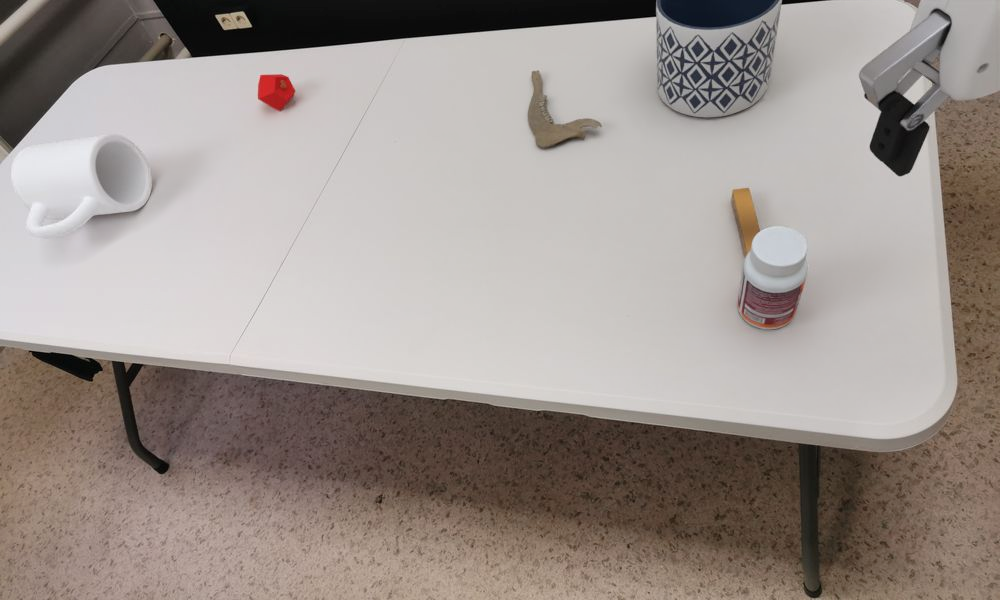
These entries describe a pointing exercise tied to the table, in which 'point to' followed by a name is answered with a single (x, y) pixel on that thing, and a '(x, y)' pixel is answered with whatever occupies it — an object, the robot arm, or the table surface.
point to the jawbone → (543, 122)
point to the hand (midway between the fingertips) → (957, 134)
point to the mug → (79, 181)
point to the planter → (714, 53)
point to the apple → (275, 90)
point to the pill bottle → (773, 277)
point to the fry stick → (745, 217)
